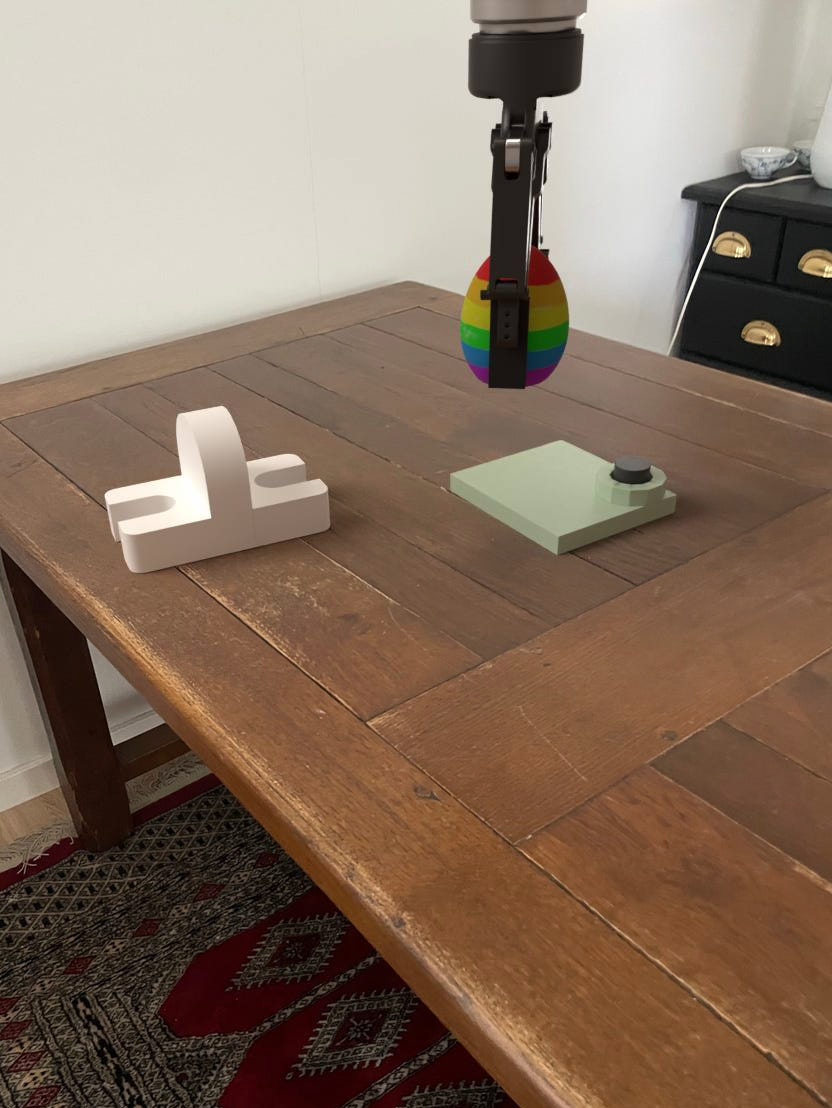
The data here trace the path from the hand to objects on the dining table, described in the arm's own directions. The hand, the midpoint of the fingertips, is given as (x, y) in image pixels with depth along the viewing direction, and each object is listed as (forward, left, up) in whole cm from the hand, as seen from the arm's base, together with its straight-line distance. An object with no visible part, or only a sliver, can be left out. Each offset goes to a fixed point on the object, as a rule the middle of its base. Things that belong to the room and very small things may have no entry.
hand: (513, 366), depth 79 cm
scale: (+6, -11, -17) cm, 21 cm away
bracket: (+20, +18, -17) cm, 32 cm away
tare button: (+1, -15, -14) cm, 21 cm away
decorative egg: (0, 0, -1) cm, 1 cm away
